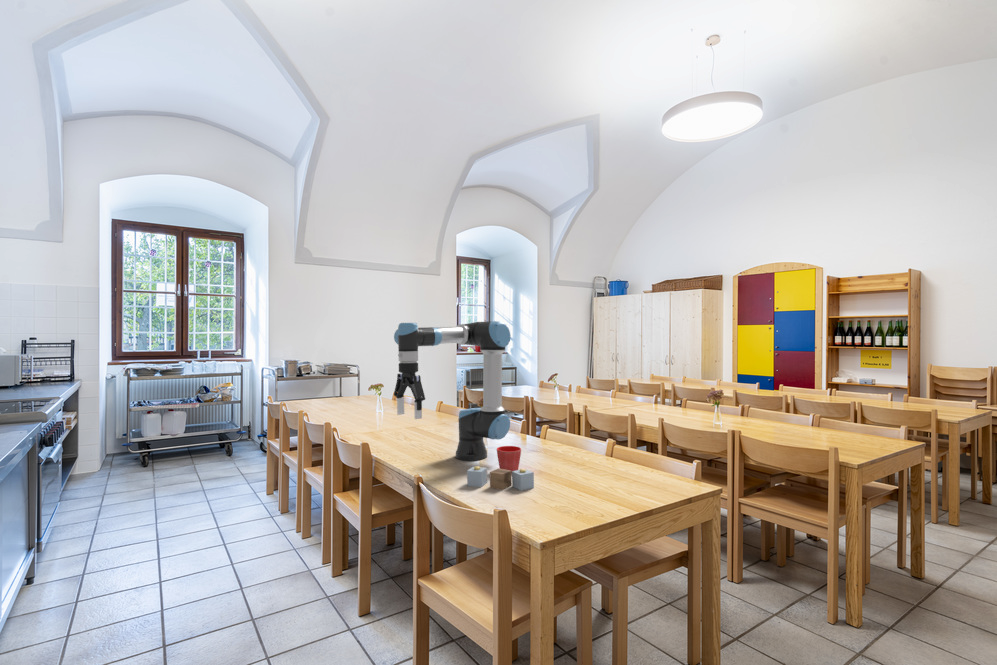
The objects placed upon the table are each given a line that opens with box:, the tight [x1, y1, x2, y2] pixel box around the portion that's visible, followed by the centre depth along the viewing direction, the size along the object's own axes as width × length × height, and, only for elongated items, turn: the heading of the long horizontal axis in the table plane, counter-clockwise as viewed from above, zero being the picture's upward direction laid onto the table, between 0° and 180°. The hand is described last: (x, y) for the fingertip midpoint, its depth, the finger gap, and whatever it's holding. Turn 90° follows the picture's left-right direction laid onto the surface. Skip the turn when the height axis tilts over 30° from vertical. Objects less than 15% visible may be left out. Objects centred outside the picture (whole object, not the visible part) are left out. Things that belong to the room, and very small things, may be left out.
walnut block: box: [489, 468, 512, 491], centre depth 194 cm, size 6×6×6 cm
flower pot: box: [496, 445, 522, 474], centre depth 216 cm, size 11×11×10 cm
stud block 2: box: [511, 468, 535, 492], centre depth 193 cm, size 6×6×7 cm
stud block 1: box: [466, 465, 488, 488], centre depth 198 cm, size 6×6×7 cm
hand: (409, 416), depth 196 cm, fingers open, 13 cm apart
